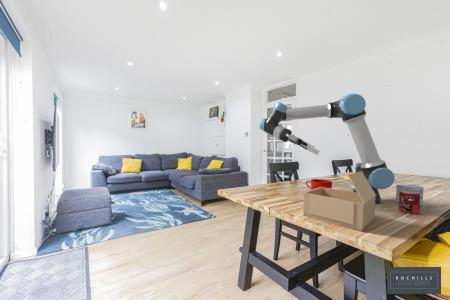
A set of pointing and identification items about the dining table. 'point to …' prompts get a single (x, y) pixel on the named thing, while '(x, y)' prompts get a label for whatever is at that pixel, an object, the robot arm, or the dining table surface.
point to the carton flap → (362, 186)
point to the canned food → (409, 201)
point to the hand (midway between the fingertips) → (316, 150)
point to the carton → (339, 208)
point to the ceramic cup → (319, 183)
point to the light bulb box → (409, 187)
